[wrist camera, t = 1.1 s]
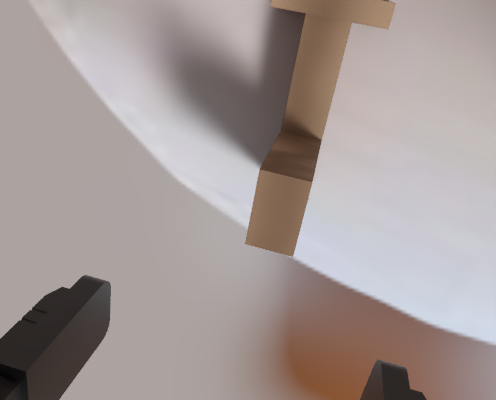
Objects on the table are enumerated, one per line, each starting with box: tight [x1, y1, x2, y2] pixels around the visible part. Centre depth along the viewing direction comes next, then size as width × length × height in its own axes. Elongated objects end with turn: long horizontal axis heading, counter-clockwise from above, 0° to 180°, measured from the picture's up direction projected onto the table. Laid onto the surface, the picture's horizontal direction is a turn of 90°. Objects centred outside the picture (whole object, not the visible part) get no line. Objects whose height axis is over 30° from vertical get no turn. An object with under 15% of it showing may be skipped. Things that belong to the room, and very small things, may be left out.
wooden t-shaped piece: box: [245, 0, 396, 256], centre depth 22 cm, size 6×12×9 cm, turn 170°
